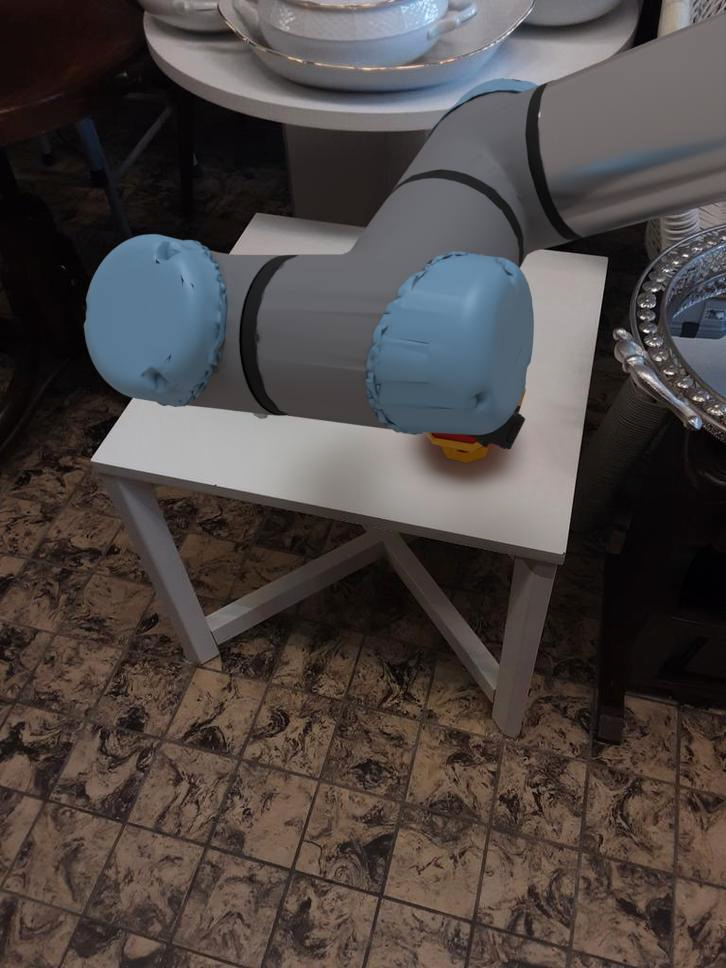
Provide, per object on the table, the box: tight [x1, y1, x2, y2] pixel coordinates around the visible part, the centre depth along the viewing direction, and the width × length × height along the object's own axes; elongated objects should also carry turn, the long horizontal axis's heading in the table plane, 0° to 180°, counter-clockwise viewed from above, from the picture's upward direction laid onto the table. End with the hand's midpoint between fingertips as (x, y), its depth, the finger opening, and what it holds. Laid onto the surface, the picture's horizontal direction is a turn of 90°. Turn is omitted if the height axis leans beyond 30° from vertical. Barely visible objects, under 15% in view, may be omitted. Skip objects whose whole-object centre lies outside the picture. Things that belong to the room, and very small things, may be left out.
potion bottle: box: [425, 388, 527, 464], centre depth 72 cm, size 10×10×15 cm
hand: (441, 384), depth 66 cm, fingers open, 13 cm apart
